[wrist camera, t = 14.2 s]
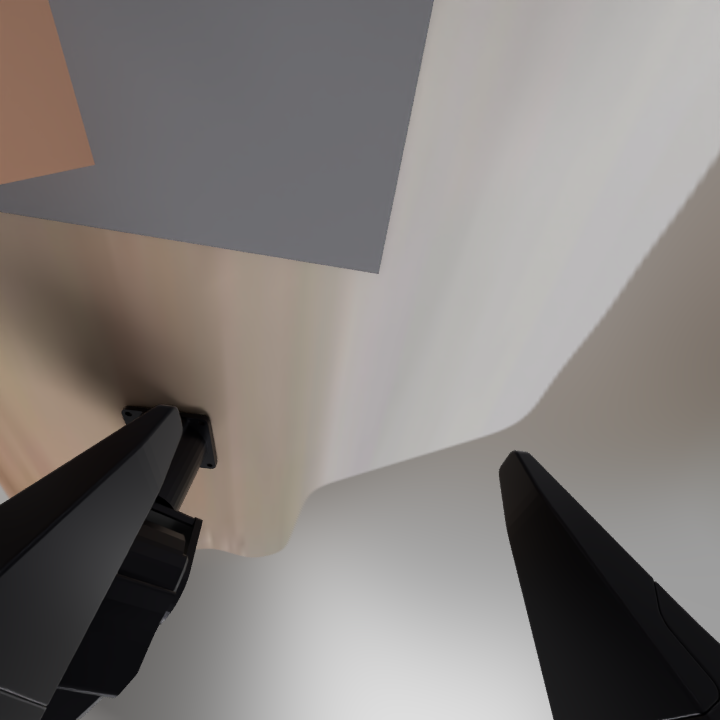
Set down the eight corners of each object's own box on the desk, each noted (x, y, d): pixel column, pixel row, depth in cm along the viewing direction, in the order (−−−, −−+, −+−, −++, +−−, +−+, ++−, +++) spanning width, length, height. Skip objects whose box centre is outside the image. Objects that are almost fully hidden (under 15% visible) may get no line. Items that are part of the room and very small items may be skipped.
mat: (378, 270, 19) (378, 273, 18) (-44, 201, 17) (-52, 203, 17) (444, -60, 11) (446, -65, 11) (-277, -234, 10) (-300, -246, 10)
